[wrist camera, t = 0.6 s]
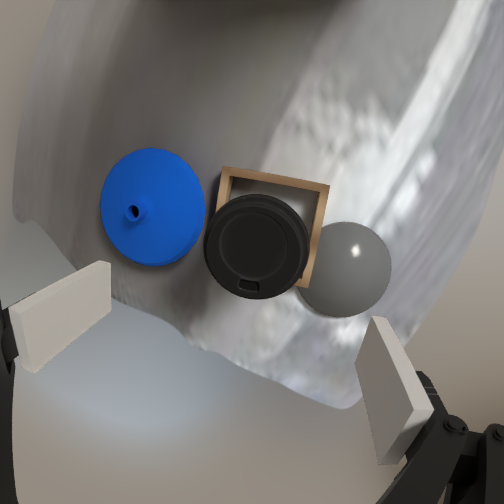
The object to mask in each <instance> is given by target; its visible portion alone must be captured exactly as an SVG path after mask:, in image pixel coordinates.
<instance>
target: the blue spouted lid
mask: <svg viewBox="0 0 504 504" xmlns="http://www.w3.org/2000/svg"><path fill="white" fill-rule="evenodd" d="M100 208H101V217H102V222H103V225H104V228H105V231H106V234H107V235H108V237H109V239H110V240H111V242H112V243H113V245H114V246H115V247H116V248H117V249H118V250H119V251H120V252H121V253H122V254H123V255H124V256H125V257H127V258H129V259H130V260H132V261H134V262H136V263H139V264H143V265H146V266H163V265H166V264H169V263H173V262H175V261H177V260H178V259H180V258H181V257H183V256H184V255H186V254H187V253H188V251H189V250H190V249H191V248H192V247H193V245H194V244H195V243H196V241H197V239H198V237H199V234H200V232H201V230H202V227H203V221H204V216H205V204H204V194H203V191H202V189H201V186H200V183H199V180H198V178H197V177H196V175H195V174H194V172H193V171H192V169H191V167H190V166H189V165H188V164H187V163H185V162H184V161H183V160H182V159H181V158H180V157H179V156H177V155H175V154H173V153H170V152H168V151H166V150H162V149H154V148H148V149H142V150H137V151H135V152H133V153H131V154H129V155H127V156H125V157H123V158H122V159H121V160H120V161H119V162H118V163H117V164H116V165H115V166H114V167H113V169H112V170H111V172H110V173H109V175H108V176H107V178H106V181H105V183H104V186H103V189H102V194H101V203H100Z"/></svg>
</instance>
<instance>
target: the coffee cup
mask: <svg viewBox="0 0 504 504" xmlns="http://www.w3.org/2000/svg"><path fill="white" fill-rule="evenodd" d="M203 249H204V257H205V261H206V264H207V266H208V269H209V271H210V272H211V274H212V276H213V277H214V278H215V280H216V281H217V282H218V283H219V284H220V285H221V286H222V287H224V288H225V289H226V290H228V291H229V292H231V293H233V294H235V295H237V296H240V297H243V298H247V299H268V298H272V297H275V296H278V295H280V294H282V293H284V292H285V291H287V290H288V289H290V288H291V287H292V286H293V285H294V284H295V283H296V282H297V281H298V279H299V278H300V277H301V275H302V274H303V272H304V270H305V268H306V265H307V263H308V259H309V253H310V242H309V236H308V232H307V229H306V227H305V225H304V223H303V221H302V219H301V218H300V216H299V215H298V214H297V213H296V212H295V211H294V210H293V209H292V208H291V207H290V206H289V205H287V204H286V203H284V202H283V201H281V200H279V199H277V198H274V197H271V196H268V195H261V194H250V195H244V196H240V197H237V198H235V199H232V200H230V201H229V202H227V203H226V204H224V205H223V206H222V207H221V208H220V209H219V210H218V211H217V212H216V213H215V214H214V215H213V217H212V219H211V220H210V222H209V224H208V227H207V229H206V232H205V236H204V244H203Z"/></svg>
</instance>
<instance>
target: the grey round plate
mask: <svg viewBox="0 0 504 504" xmlns="http://www.w3.org/2000/svg"><path fill="white" fill-rule="evenodd" d="M309 240H310V237H309ZM390 276H391V259H390V255H389V251H388V249H387V247H386V245H385V243H384V242H383V240H382V239H381V238H380V237H379V236H378V235H377V234H376V233H375V232H373V231H372V230H371V229H369V228H367V227H365V226H363V225H361V224H357V223H353V222H337V223H333V224H329V225H327V226H324V227H322V228H321V233H320V238H319V242H318V247H317V252H316V256H315V260H314V265H313V269H312V273H311V278H310V282H309V286H308V288H305V287H299V286H298V289H299V291H300V293H301V295H302V297H303V298H304V299H305V301H306V302H307V303H308V304H309V305H310V306H311V307H312V308H314V309H315V310H317V311H319V312H320V313H323V314H325V315H328V316H333V317H349V316H353V315H357V314H359V313H362V312H364V311H366V310H368V309H369V308H370V307H372V306H373V305H374V304H375V303H376V302H377V301H378V300H379V299H380V298H381V297H382V295H383V294H384V292H385V290H386V288H387V286H388V284H389V281H390Z"/></svg>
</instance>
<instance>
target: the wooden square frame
mask: <svg viewBox="0 0 504 504" xmlns="http://www.w3.org/2000/svg"><path fill="white" fill-rule="evenodd" d="M233 176H235V177H242V178H248V179H254V180H259V181H265V182H271V183H276V184H282V185H287V186H292V187H298V188H303V189H308V190H313V191H317V192H318V197H317V202H316V207H315V213H314V218H313V223H312V227H311V232H310V240H309V242H310V253H309V259H308V263H307V265H306V268H305V270H304V272H303V274H302V275H301V277H300V278H299V279H298V281H297V282H296V283H295V284H294V286H299V287H305V288H308V286H309V282H310V278H311V273H312V269H313V265H314V260H315V256H316V252H317V247H318V242H319V238H320V233H321V228H322V224H323V219H324V214H325V209H326V204H327V199H328V194H329V188H330V185H326V184H321V183H316V182H311V181H306V180H301V179H296V178H291V177H285V176H280V175H274V174H269V173H263V172H257V171H251V170H245V169H238V168H232V167H225V166H223V168H222V174H221V180H220V187H219V193H218V200H217V206H216V212H217V211H218V210H219V209H220V208H221V207H222V206H223V205H224V204H226V203H227V202H229V200H230V194H231V187H232V181H233Z"/></svg>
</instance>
